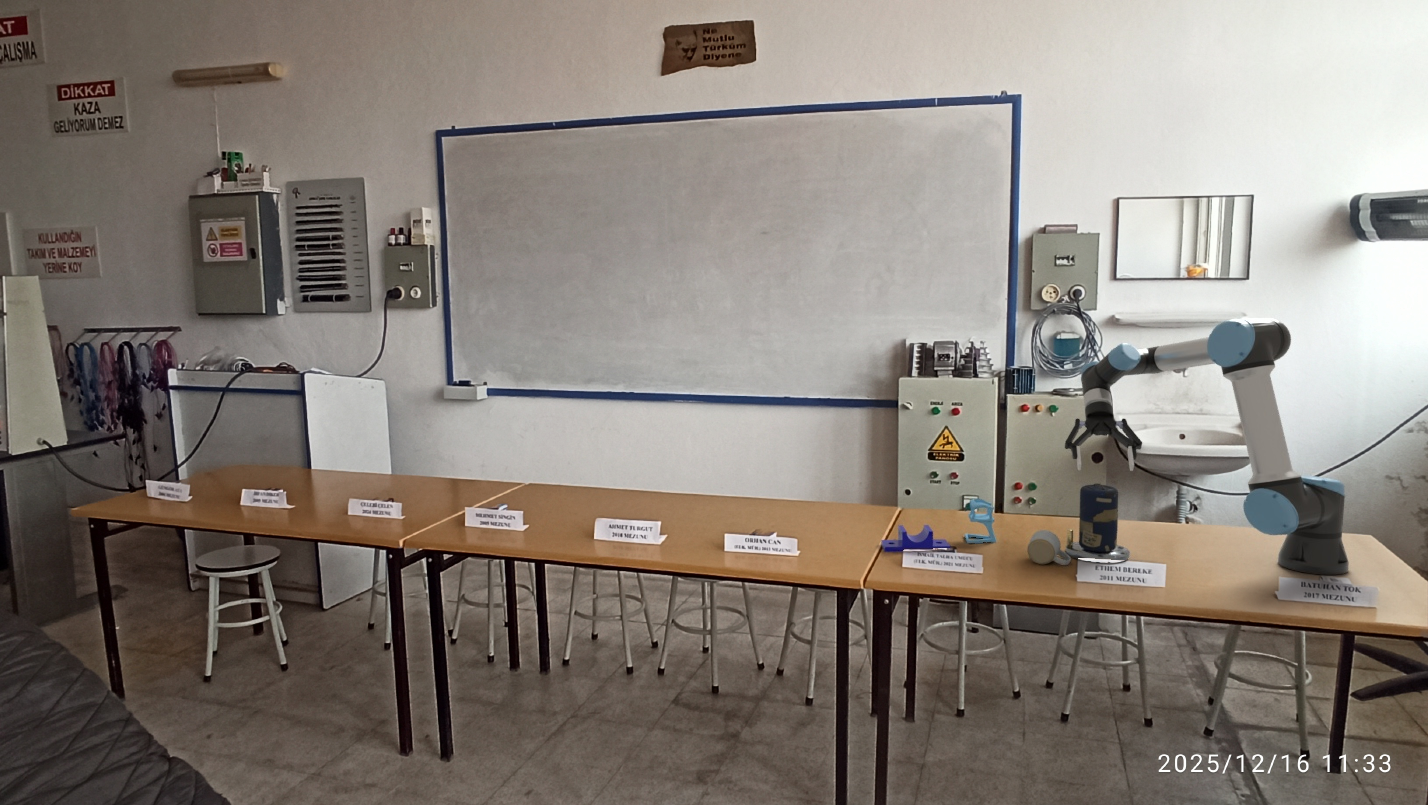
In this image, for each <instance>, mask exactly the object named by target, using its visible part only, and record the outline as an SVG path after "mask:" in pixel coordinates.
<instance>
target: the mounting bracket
mask: <svg viewBox="0 0 1428 805" xmlns="http://www.w3.org/2000/svg"><path fill="white" fill-rule="evenodd" d="M897 529H898V530H897V531H898V532H897V533H898V534H897V535H898V536H897V539H881V541H880V542H881V543H880V544H881V547H882V549H883V551H884V552H885V553H888V552H889V553H891V552H892V553H896V552H897V553H898V552H899V553H902V551H903V550H904V549H933V548H952V547H951V545H950V543H949V541H947V539H945V538H941V539H934V530H933V529H932V527H930V525H929V524H923V529H922V530H921V532H919V533H918V534H915V535H912V534H908V532H907V530H906V529H905V526H903V525H902V524H900V525H898V528H897Z"/></svg>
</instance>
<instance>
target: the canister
mask: <svg viewBox="0 0 1428 805" xmlns="http://www.w3.org/2000/svg"><path fill="white" fill-rule="evenodd" d="M1118 508H1119V490H1118V489H1117V488H1115V486H1111V485H1106V484H1101V483H1093V484H1087V485H1083V486H1081V488H1080V491H1079V514H1078V516H1079V520H1078V521H1079V522H1078V523H1079V526H1078V527H1079V528H1078V531H1079V532H1078V542H1079V545H1080V546H1081V547H1082V548H1083V549H1086V550H1090V551H1096V552H1107V551H1112V550H1114V549H1115V548H1116V546H1117V545H1118V544H1117V543H1118V528H1119V526H1118V523H1119V522H1118V521H1119V520H1118V519H1119V513H1118V512H1119V509H1118Z"/></svg>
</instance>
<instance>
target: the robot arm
mask: <svg viewBox="0 0 1428 805" xmlns="http://www.w3.org/2000/svg"><path fill="white" fill-rule="evenodd" d="M1291 335H1292V334H1291V332H1290V330H1289V328H1288V327H1287V326H1286V325H1285V324H1284V323H1283V322H1281V321H1280V320H1278V319H1276V318H1272V317H1259V318H1258V317H1252V318H1250V317H1247V318H1245V317H1244V318H1240V317H1238V318H1233V319H1229V320H1228V319H1227V320H1225V321H1222V322H1220V323H1219V324H1217V325H1216V326H1215V327H1214V328H1213V329H1212V331H1211V332H1210V334H1209V336H1208V337H1201V338H1197V339H1191V340H1185V341H1182V342H1181V341H1180V342H1175V343H1174V342H1173V343H1170V344H1164V345H1160V346H1159V345H1157V346H1151V347H1147V348H1136V347H1135V346H1134V345H1132V344H1129V343H1127V342H1122V343H1120V344H1118V345H1117V346H1116V347H1114V348H1113V349H1111V350H1110V351H1109V352H1108V353H1107V354H1106V355H1105V356H1104V357H1103V358H1102V359H1100V361H1099V360H1092V361H1090V362H1089V363H1088V362H1087V363H1085V364H1084V365H1083V366H1082V368H1081V371H1080V372H1081V374H1080V375H1081V377H1080V382H1081V387H1082V396H1083V406H1084V413H1085V416H1084V417H1085V420H1081V419H1080V418H1075V421H1074V425H1073V428H1072V429H1071V431H1070V433H1069V435H1068V437H1067V438H1066V440H1065V443H1064V449H1065V450H1070V451H1071V455H1072V456H1071V457H1072V459H1073V460H1076V464H1077V465H1076V466H1077V471H1081V470H1082V458H1081V447H1080V446H1082V445H1083V444H1084V443H1085V442H1086V440H1088V439H1089V438H1091V437H1092V436H1093V435H1094V436H1097V437H1098V436H1108V435H1109V436H1110V437H1111V438H1113V439H1115V440H1116V441H1118V442H1119V443H1120V444H1121V445H1122V446H1124V447H1125V448H1126V449H1127V459H1128V465H1129V466H1128V468H1129V471H1130V472H1133V471H1134V468H1135V461H1136V459H1137V456H1138V455H1137V454H1138V453H1137V450H1141V449H1142V445H1143V441H1142V440H1141V439H1140V437H1138V435H1137V434H1136V433H1135V432H1134V430H1133V429H1132V428H1131V427H1130V425H1129V424H1128V421H1127V419H1126V418H1122V419H1121V420H1115V418H1114V416H1115V415H1114V409H1113V400H1112V394H1111V387H1112V386H1114V385H1115V384H1116V383H1117V382H1118V381H1119V380H1120V379H1122V378H1123V377H1125V376H1134V375H1135V376H1136V375H1149V374H1160V373H1164V372H1169V371H1174V370H1175V371H1176V370H1180V369H1188V368H1194V367H1200V366H1208V365H1217V366H1219V367H1220V368H1221V373H1222V375H1223V377H1224V378H1225V379H1227V380H1228V381H1230V382H1231V385H1232V386H1231V387H1232V390H1233V395H1234V399H1235V403H1236V408H1237V411H1238V416H1239V419H1240V424H1241V429H1242V432H1243V437H1244V442H1245V447H1246V450H1247V455H1248V459H1249V464H1250V468H1251V472H1252V477H1251V478H1250V479H1249V480H1248V481H1247V485H1248V489H1249V493H1248V494H1247V495H1246V497H1245V499H1244V501H1243V506H1242V508H1243V512H1244V516H1245V519H1246V520H1247V521H1248V523H1249V524H1250V525H1251V526H1252V527H1253V528H1254V529H1256V530H1257V531H1258V532H1260V533H1262V534H1264V535H1267V536H1282V535H1283V536H1286V537H1285V538H1284V541H1283V543H1282V546H1281V548H1280V550H1279V551H1278V557H1277V563H1278V564H1279V566H1281V567H1283V568H1285V569H1289V570H1292V571H1295V572H1299V573H1300V572H1301V573H1305V574H1314V575H1325V576H1326V575H1328V576H1331V575H1332V576H1333V575H1342V574H1343V575H1344V574H1346V573H1348V572H1349V567H1350V566H1349V563H1350V562H1349V559H1348V557H1347V552H1346V549H1345V546H1344V543H1343V525H1344V511H1345V510H1344V509H1345V498H1346V494H1345V485H1344V483H1343V481H1340V480H1339V479H1335V478H1334V479H1333V478H1328V477H1324V476H1323V477H1322V476H1315V475H1306V474H1300V473H1298V472H1297V471H1295V470H1294V469H1293V466H1292V460H1291V458H1290V453H1289V450H1288V446H1287V441H1286V436H1285V433H1284V429H1283V428H1284V427H1283V425H1282V424H1283V423H1282V419H1281V415H1280V412H1279V411H1280V410H1279V407H1278V404H1277V398H1276V395H1275V390H1274V386H1273V382H1272V378H1271V374H1272V372H1273V371H1274V369H1275V368H1276V364H1275V362H1276V361H1277V360H1280V359H1281V358H1282V357H1284V356H1285V355H1286V354H1287V353H1288V351H1289V350H1290V348H1291V343H1292V336H1291ZM1084 426H1085V428H1086V429H1085V430H1084V431H1083V433H1081V435H1080V436H1079V437H1077V438H1076V436H1077V434H1079V430H1080V429H1082V428H1083V427H1084ZM1118 428H1119V429H1120V430H1121V431H1122V432H1121V431H1119V429H1118ZM1123 433H1124V434H1123ZM1075 438H1076V439H1075Z"/></svg>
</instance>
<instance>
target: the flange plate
mask: <svg viewBox="0 0 1428 805" xmlns="http://www.w3.org/2000/svg"><path fill="white" fill-rule="evenodd" d="M1064 552H1065V553H1066V554H1067V555H1069V556H1070V558H1071V559H1073V560H1077V559H1078V558H1095V559H1111V560H1127V559H1128V558H1129V557H1130V558H1131V555H1130V554H1131V552H1130V550H1129V549H1128V548H1126V547H1124V546H1121V545H1119V544H1117V546H1116V548H1115V549H1114V550H1112V551H1107V552H1096V551H1090V550H1086V549H1083V548H1082V547H1081V546H1080V545H1079V541H1074V529H1072V528H1067V529H1066V544H1065V551H1064ZM1130 558H1129V559H1130ZM1127 561H1128V560H1127Z"/></svg>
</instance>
